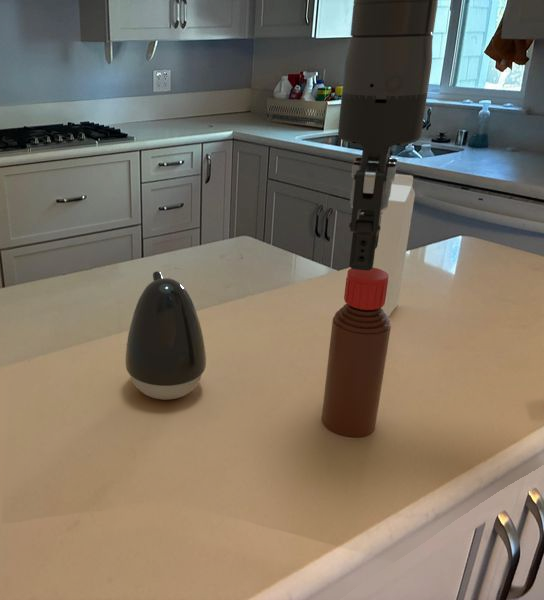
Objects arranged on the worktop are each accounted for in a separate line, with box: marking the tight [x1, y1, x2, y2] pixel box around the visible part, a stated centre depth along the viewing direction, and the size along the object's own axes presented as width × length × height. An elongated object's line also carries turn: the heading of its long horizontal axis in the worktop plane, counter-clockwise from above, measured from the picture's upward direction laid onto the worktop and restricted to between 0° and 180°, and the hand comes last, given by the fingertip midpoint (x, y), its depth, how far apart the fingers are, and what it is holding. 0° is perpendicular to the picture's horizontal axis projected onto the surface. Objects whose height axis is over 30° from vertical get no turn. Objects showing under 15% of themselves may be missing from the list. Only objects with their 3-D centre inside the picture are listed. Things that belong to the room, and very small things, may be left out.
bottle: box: [321, 303, 392, 438], centre depth 68 cm, size 6×6×18 cm
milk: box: [361, 173, 416, 318], centre depth 96 cm, size 6×6×22 cm
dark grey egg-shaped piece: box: [124, 270, 207, 401], centre depth 76 cm, size 10×10×15 cm
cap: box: [343, 267, 388, 310], centre depth 65 cm, size 4×4×3 cm
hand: (363, 257), depth 64 cm, fingers open, 6 cm apart
